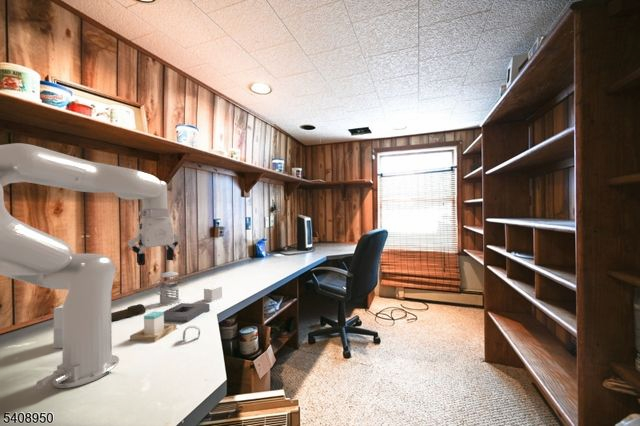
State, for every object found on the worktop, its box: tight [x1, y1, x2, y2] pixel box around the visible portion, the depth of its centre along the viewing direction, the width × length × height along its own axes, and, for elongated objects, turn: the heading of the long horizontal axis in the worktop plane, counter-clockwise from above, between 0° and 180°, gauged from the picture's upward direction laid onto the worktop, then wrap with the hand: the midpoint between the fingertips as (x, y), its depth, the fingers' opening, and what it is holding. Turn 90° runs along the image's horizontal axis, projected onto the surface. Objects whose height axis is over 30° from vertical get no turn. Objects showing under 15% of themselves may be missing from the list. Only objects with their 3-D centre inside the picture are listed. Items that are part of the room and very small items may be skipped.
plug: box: [143, 311, 165, 335], centre depth 84 cm, size 4×4×7 cm
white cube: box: [203, 285, 223, 302], centre depth 123 cm, size 6×6×6 cm
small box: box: [53, 304, 63, 349], centre depth 82 cm, size 8×6×13 cm
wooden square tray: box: [128, 323, 179, 343], centre depth 84 cm, size 10×10×2 cm
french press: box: [152, 270, 182, 307], centre depth 120 cm, size 10×12×25 cm
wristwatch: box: [182, 325, 201, 342], centre depth 80 cm, size 3×5×5 cm, turn 111°
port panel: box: [163, 302, 211, 323], centre depth 101 cm, size 14×14×3 cm
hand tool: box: [111, 303, 146, 322], centre depth 100 cm, size 19×4×5 cm, turn 134°
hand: (156, 262), depth 87 cm, fingers open, 9 cm apart
